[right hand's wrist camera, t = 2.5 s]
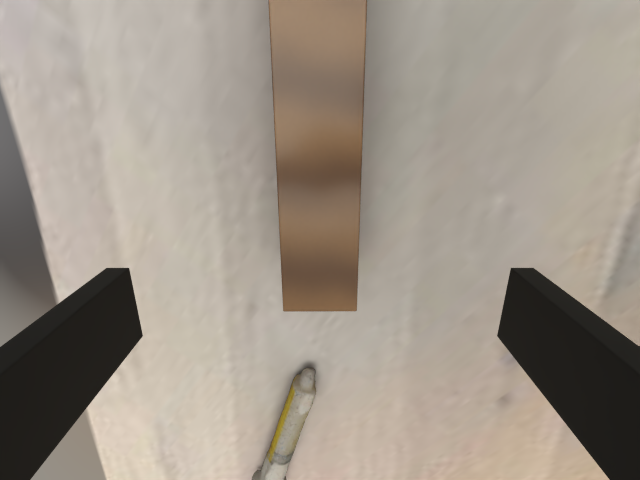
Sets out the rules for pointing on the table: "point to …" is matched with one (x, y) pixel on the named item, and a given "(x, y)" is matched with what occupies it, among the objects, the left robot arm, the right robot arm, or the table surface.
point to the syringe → (289, 427)
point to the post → (318, 147)
